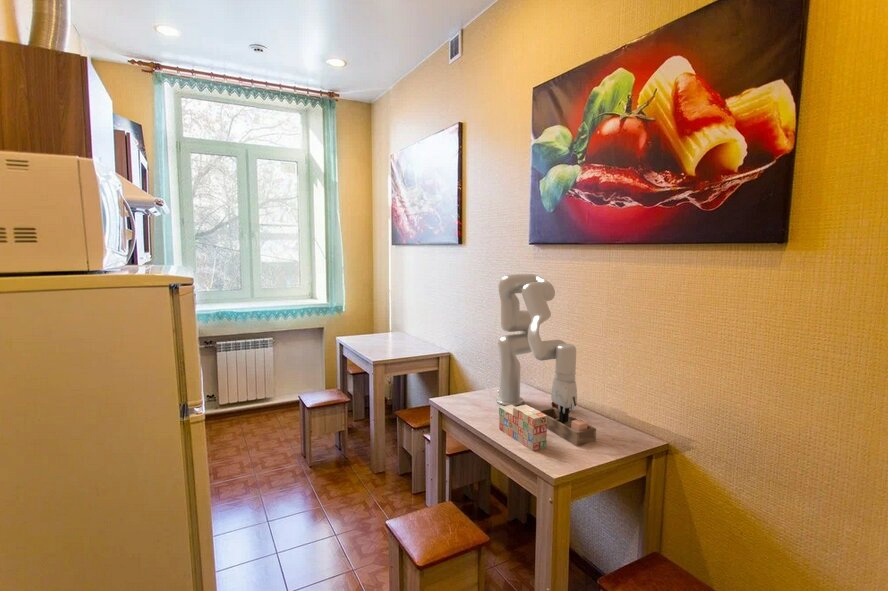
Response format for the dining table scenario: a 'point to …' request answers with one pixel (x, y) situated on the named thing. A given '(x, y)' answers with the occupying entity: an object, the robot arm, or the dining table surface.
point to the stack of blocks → (524, 425)
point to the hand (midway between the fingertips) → (563, 421)
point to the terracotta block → (579, 425)
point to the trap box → (568, 428)
